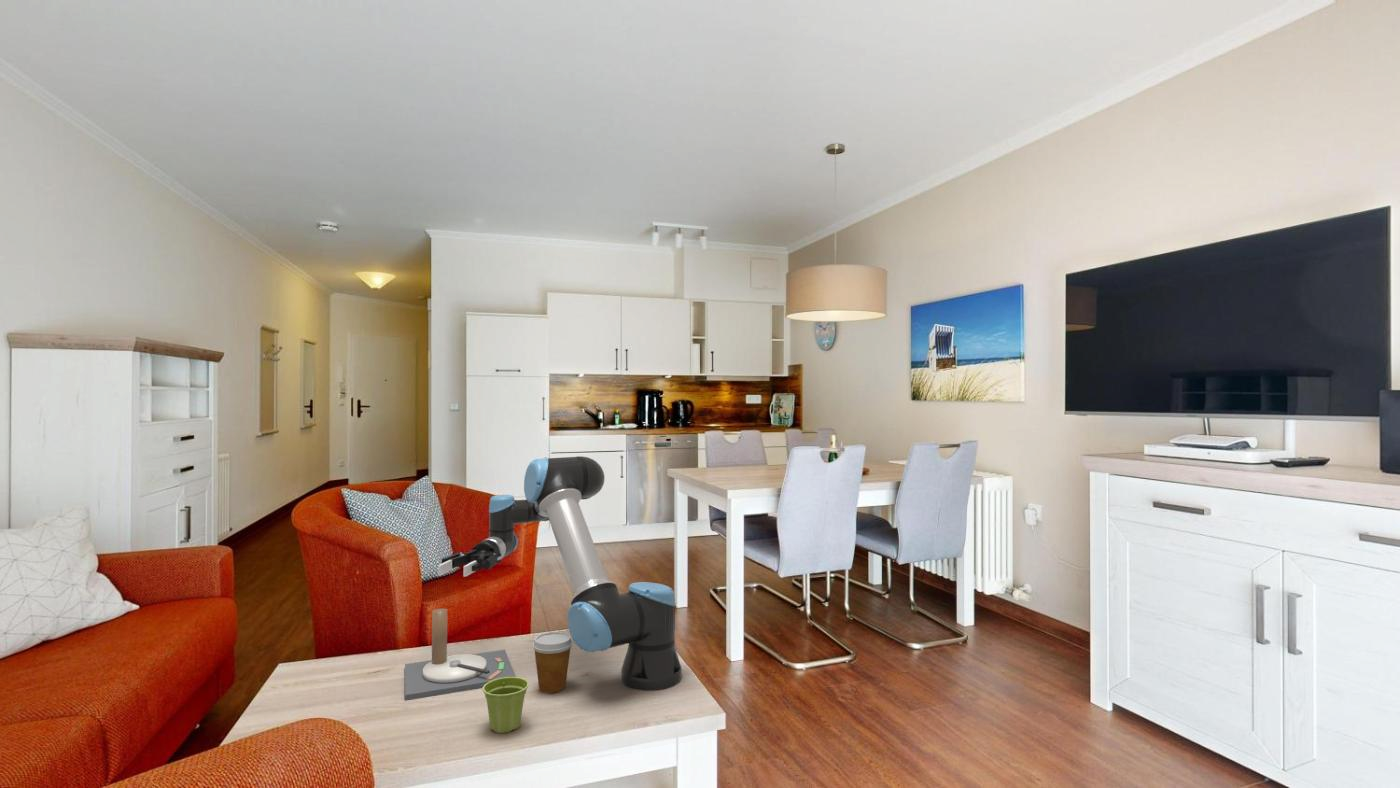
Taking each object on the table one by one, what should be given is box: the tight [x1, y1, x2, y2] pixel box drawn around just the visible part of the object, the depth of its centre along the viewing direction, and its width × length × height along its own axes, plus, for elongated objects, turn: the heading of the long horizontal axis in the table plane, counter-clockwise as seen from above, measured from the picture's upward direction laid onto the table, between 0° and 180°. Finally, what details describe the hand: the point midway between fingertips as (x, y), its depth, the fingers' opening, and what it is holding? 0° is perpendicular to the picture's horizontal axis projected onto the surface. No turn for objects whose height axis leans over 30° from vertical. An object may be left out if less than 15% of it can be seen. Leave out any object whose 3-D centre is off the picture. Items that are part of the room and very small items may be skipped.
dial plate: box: [404, 649, 517, 701], centre depth 165 cm, size 20×25×2 cm
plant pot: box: [482, 676, 530, 734], centre depth 139 cm, size 9×9×9 cm
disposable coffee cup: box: [532, 631, 574, 694], centre depth 158 cm, size 10×10×12 cm
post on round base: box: [423, 607, 490, 683], centre depth 164 cm, size 16×15×14 cm
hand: (452, 571), depth 174 cm, fingers open, 6 cm apart
